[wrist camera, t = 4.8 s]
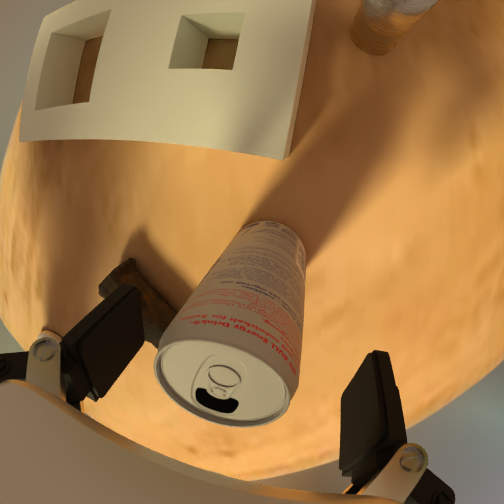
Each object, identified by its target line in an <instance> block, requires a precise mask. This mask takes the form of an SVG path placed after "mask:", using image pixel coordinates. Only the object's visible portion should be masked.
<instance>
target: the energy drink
mask: <svg viewBox="0 0 504 504" xmlns="http://www.w3.org/2000/svg"><path fill="white" fill-rule="evenodd" d="M305 276H306V253H305V248H304V245H303V243H302V241H301V239H300V238H299V237H298V235H297V234H296V233H295V232H294V231H293V230H292V229H290V228H289V227H287V226H286V225H283V224H281V223H278V222H274V221H258V222H254V223H251V224H249V225H247V226H246V227H244V228H243V229H241V230H240V231H239V232H238V233H237V235H236V236H235V237H234V238H233V240H232V241H231V242H230V244H229V245H228V246H227V248H226V249H225V250H224V252H223V253H222V254H221V256H220V257H219V258H218V260H217V261H216V262H215V264H214V265H213V266H212V268H211V269H210V270H209V272H208V273H207V274H206V276H205V277H204V278H203V280H202V281H201V282H200V284H199V285H198V286H197V288H196V289H195V290H194V292H193V293H192V295H191V296H190V297H189V299H188V300H187V301H186V303H185V304H184V305H183V307H182V308H181V310H180V311H179V312H178V314H177V315H176V316H175V318H174V319H173V321H172V322H171V323H170V325H169V326H168V328H167V329H166V330H165V332H164V333H163V335H162V337H161V339H160V342H159V348H158V353H157V355H156V357H155V360H154V372H155V376H156V379H157V381H158V383H159V385H160V386H161V388H162V389H163V391H164V392H165V393H166V394H167V395H168V396H169V398H170V399H171V400H173V401H174V402H175V403H176V404H177V405H179V406H180V407H181V408H183V409H184V410H186V411H187V412H189V413H191V414H193V415H195V416H197V417H199V418H201V419H204V420H206V421H209V422H212V423H215V424H219V425H223V426H229V427H239V428H248V427H257V426H262V425H266V424H269V423H271V422H274V421H275V420H277V419H278V418H280V417H281V416H282V415H283V414H284V413H285V412H286V411H287V409H288V407H289V405H290V401H291V399H292V398H293V396H294V394H295V392H296V390H297V388H298V383H299V373H300V362H301V349H302V335H303V319H304V300H305Z"/></svg>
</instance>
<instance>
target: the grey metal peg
mask: <svg viewBox="0 0 504 504" xmlns="http://www.w3.org/2000/svg"><path fill="white" fill-rule="evenodd" d="M437 1H438V0H361V2H360V5H359V8H358V10H357V13H356V16H355V18H354V21H353V24H352V27H351V30H350V34H351V38H352V40H353V42H354V43H355V44H356V45H357V46H358V47H359V48H360V49H361V50H363V51H364V52H366V53H369V54H372V55H384V54H386V53H388V52H389V51H390V50H391V49H392V48H393V47H394V46H395V45H396V44H397V43H398V42H399V41H400V40H401V39H402V37H403V36H404V35H405V34H406V33H407V32H408V31H409V30H410V29H411V28H412V27H413V26H414V25H415V24H416V23H417V22H418V21H419V20H420V19H421V18H422V17H423V15H424V14H425V13H426V12H427V11H428V10H429V9H430V8H431V7H432V6H433V5H434V4H435V3H436V2H437Z"/></svg>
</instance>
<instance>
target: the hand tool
mask: <svg viewBox="0 0 504 504" xmlns="http://www.w3.org/2000/svg"><path fill="white" fill-rule="evenodd" d="M123 283H127V284H129V285H132V286H135V287H137V289H138V291H139V292H140V295H141V306H142V317H143V327H144V336H145V341H147V342H150V343H152V344H153V345H154V346H155V347H156V348H157V349H158V348H159V342H160V339H161V337H162V335H163V333H164V332H165V330H166V329H167V328H168V326H169V325H170V323H171V322H172V321H173V319H174V318H175V316H176V315H177V314H176V313H175V312H174V310H173V309H172V308H171V307H170V306H168V305H167V303H166V302H165V301H164V300H163V299H162V298H161V297H160V296H159V295H157V293H156V292H155V291H154V290H153V289H152V288H151V287H150V286H149V285H148V284H147V283H146V281H145V280H144V279H143V278H142V277H141V276H140V275H139V274H138V272H137V271H136V270H135V259H134V258H129V259H128V260H127V261H125V262H123V263H122V264H121V265H119V266H118V267H116V268H115V269H114V270H113V271H112V272H111V273H110V274H109V275H108V276H107V277H106V278H105V279H104V280H103V281H102V282H101V283H100V284H99V295H100V296H102V297H103V298H107V297H108V296H109V295H110V294H111V293H112V292H113V291H115V290H116V289H117V288H118V287H119V286H120V285H122V284H123Z"/></svg>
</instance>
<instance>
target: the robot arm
mask: <svg viewBox="0 0 504 504" xmlns="http://www.w3.org/2000/svg"><path fill="white" fill-rule="evenodd" d="M144 341H145V336H144V327H143V317H142V306H141V295H140V292H139V291H138V289H137V287H135V286H132V285H129V284H127V283H123V284H122V285H120V286H119V287H118V288H117V289H116V290H115V291H113V292H112V293H111V294H110V295H109V296H108V297H107V298H105V299H104V300H103V301H102V302H101V303H100V304H99V305H98V306H96V307H95V308H94V309H93V310H92V311H91V312H90V313H89V314H88V315H86V316H85V317H84V318H83V319H82V320H81V321H80V322H79V323H78V324H77V325H76V326H75V327H74V328H72V329H71V330H70V331H69V332H68V333H67V334H66V335H65V336H64V337H63V338H61V337H60V336H58V335H57V334H55V333H53V332H51V331H47V330H44V331H42V332H41V333H40V334H39V335H38V340H36V341H35V342H34V343H33V344H32V345H31V347H30V350H29V351H26V352H16V353H5V354H0V504H454V503H455V494H454V491H453V490H452V489H451V488H450V487H449V486H448V485H447V484H445V483H444V482H443V481H442V480H441V479H439V478H438V477H437V476H436V475H435V474H433V473H432V472H431V471H430V470H428V469H427V465H428V456H427V453H426V451H425V450H424V449H423V448H422V447H421V446H420V445H417V444H415V443H407V437H406V430H405V423H404V417H403V411H402V405H401V399H400V394H399V390H398V387H397V386H396V384H395V379H394V374H393V370H392V365H391V361H390V356H389V353H388V352H384V351H378V350H374V351H373V352H372V353H368V354H367V356H366V358H365V359H364V361H363V363H362V364H361V366H360V367H359V369H358V371H357V372H356V374H355V375H354V377H353V379H352V380H351V382H350V383H349V385H348V386H347V388H346V389H345V391H344V392H343V394H342V397H341V430H340V457H339V469H340V470H342V476H347V477H348V476H349V477H352V480H351V481H352V484H351V485H350V486H349V487H348V488H347V489H346V490H345V491H344V492H343V493H342V494H335V493H320V492H310V491H301V490H292V489H285V488H278V487H272V486H267V485H261V484H256V483H252V482H247V481H243V480H239V479H235V478H231V477H227V476H223V475H220V474H216V473H213V472H209V471H206V470H203V469H200V468H197V467H194V466H191V465H188V464H186V463H183V462H180V461H177V460H175V459H172V458H170V457H167V456H165V455H162V454H160V453H158V452H155V451H153V450H151V449H149V448H146V447H144V446H142V445H140V444H138V443H136V442H134V441H132V440H130V439H128V438H126V437H124V436H122V435H120V434H118V433H116V432H114V431H113V430H111V429H109V428H107V427H105V426H104V425H102V424H100V423H99V422H97V421H95V420H94V419H92V418H90V417H89V416H87V415H85V411H84V403H83V400H84V399H85V397H86V396H87V397H88V398H90V399H92V400H93V401H95V402H97V400H98V399H99V398H103V397H104V396H105V395H106V393H107V392H108V391H109V389H110V388H111V386H112V385H113V384H114V382H115V381H116V380H117V378H118V377H119V376H120V374H121V373H122V372H123V371H124V369H125V368H126V367H127V365H128V364H129V363H130V361H131V360H132V359H133V357H134V356H135V355H136V353H137V352H138V351H139V350H140V348H141V347H142V346H143V344H144Z"/></svg>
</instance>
